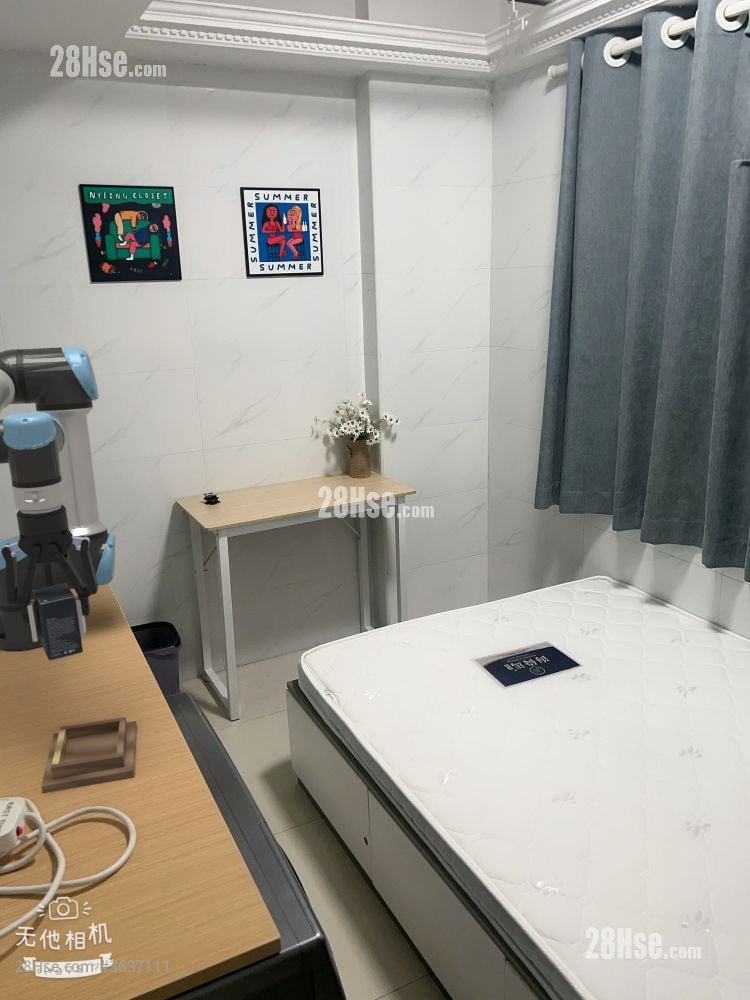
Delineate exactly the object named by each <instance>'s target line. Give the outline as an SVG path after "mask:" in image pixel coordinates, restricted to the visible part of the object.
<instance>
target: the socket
mask: <svg viewBox="0 0 750 1000" xmlns="http://www.w3.org/2000/svg"><path fill="white" fill-rule="evenodd" d="M59 727H60V728H59V731H58V732H56V733H53V737H52V741H51V745H50V748H49V752H48V757H47V760H46V766H45V770H44V774H43V779H42V782H41V792H42V794H43V793H49V792H54V791H61V790H67V789H71V788H77V787H83V786H89V785H95V784H100V783H105V782H111V781H117V780H122V779H128V778H134V777H135V763H136V760H135V759H136V747H137V746H136V744H137V730H138V729H137V727H138V725H137V720H132V721H127V718H126V716H124V717H115V718H109V719H104V720H97V721H91V722H86V723H78V724H72V725H65V726H59Z"/></svg>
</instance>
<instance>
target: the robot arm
mask: <svg viewBox="0 0 750 1000" xmlns="http://www.w3.org/2000/svg"><path fill="white" fill-rule="evenodd" d="M95 376H96V375H95V372H94V368H93V365H92V363H91V360H90V356H89V354H88V352H87V351H86V350H85V349H84V348H81V347H77V346H76V347H73V346H72V347H71V346H61V347H59V346H58V347H44V348H43V347H42V348H41V347H40V348H39V347H38V348H21V349H19V348H14V349H13V348H12V349H7V350H3V351H0V414H1V413H2V410H4V409H5V408H8V406H9V405H15V404H16V405H20V404H21V405H22V404H23V405H26V404H35V410H36V411H29V412H20V413H14V414H10V415H7V416H5V418H3V419H2V418H1V419H0V465H1V464H8V467H9V474H10V479H11V487H12V494H13V500H14V505H15V506H14V507H15V509H17V510H18V511H17V512H16V520H17V527H18V534H19V535H15V536H13V537H12V536H11V537H9V538H6V539H4V540H1V541H0V650H3V651H11V652H13V651H25V650H26V651H27V650H31V649H36V648H39V647H43V646H42V644H41V637H40V629H39V623H38V616H37V610H36V604H35V600H34V595H33V590H34V589H38V588H43V587H48V586H53V585H58V584H63V583H66V584H67V586H68V587H69V589H70V590H74V591H75V593H76V596H75V600H76V607H77V613H78V620H79V627H80V634H81V637H83V636H86V631H87V626H86V618H85V616H89V614H90V610H91V607H90V599H89V597H90V596H92V595H96V594H97V593H98V589H99V587H101V586H105V585H109V584H110V583H112V582H113V579H114V576H115V562H116V536H115V534H114V533H111V532H110V533H108V526H107V525H106V524H105V523H103V522H102V521H101V520H100V517H99V507H98V500H97V499H98V498H97V490H96V484H95V475H94V465H93V458H92V452H91V451H92V450H91V442H90V441H91V440H90V433H89V426H88V415H89V413H90V412H91V411H92V410H93V409H94V406H93V401H97V400H98V399H99V397H100V396H99V391H98V386H97V381H96V377H95Z"/></svg>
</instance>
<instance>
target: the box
mask: <svg viewBox="0 0 750 1000" xmlns="http://www.w3.org/2000/svg"><path fill="white" fill-rule="evenodd" d="M33 595H34V600H35V604H36V610H37V616H38V623H39V629H40V637H41V644H42V646H41V647H42V648H43V651H44V652H45V655H46V657H47V660H48V661H50V662H51V661H55V660H59V659H63V658H68V657H72V656H75V655H79V654H82V653H83V652H84V650H83V649H84V648H83V643H82V636H81V634H80V627H79V620H78V613H77V607H76V600H75V599H76V596H75V595H74V593H73V592H72V589H69V587H68V586H67V584H66V583H63V584H58V585H53V586H48V587H43V588H38V589H34V590H33Z"/></svg>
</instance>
